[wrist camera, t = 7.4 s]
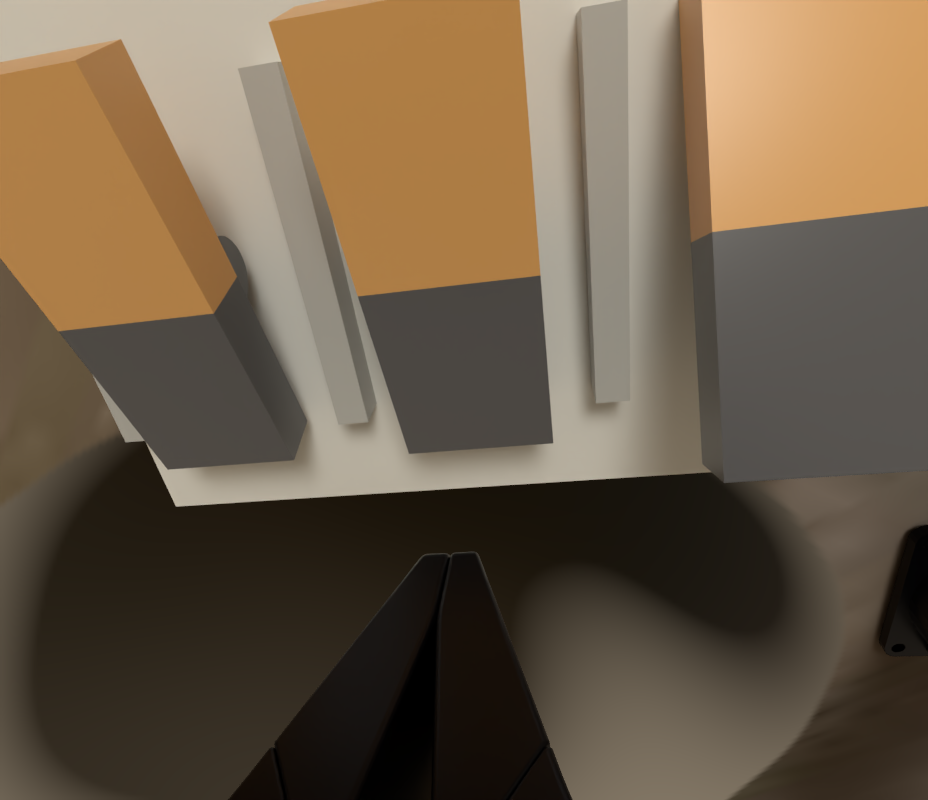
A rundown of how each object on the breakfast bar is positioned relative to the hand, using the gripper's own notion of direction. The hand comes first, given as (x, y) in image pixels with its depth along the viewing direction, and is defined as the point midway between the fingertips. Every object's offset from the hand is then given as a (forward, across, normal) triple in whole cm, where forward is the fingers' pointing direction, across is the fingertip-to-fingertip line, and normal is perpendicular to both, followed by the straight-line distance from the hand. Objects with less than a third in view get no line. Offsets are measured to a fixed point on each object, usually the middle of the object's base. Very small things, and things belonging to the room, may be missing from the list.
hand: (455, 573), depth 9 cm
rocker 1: (+6, +7, -4) cm, 10 cm away
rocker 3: (+6, -6, -3) cm, 9 cm away
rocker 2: (+6, 0, -4) cm, 7 cm away
